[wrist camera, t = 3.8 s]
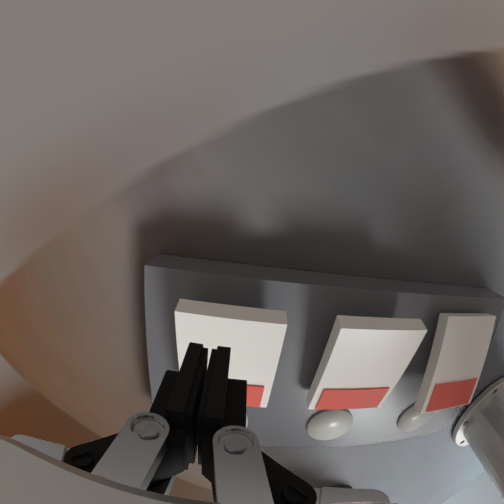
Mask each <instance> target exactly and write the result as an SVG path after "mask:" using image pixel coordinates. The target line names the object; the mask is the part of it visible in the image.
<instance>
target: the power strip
mask: <svg viewBox="0 0 504 504" xmlns="http://www.w3.org/2000/svg"><path fill="white" fill-rule="evenodd" d="M144 290H145V322H146V341H147V355H148V367H149V377H150V387H151V396H152V404H153V402H154V399H155V397H156V394H157V392H158V389H159V387H160V384H161V382H162V379H163V377H164V375H165V372H166V371H167V370H172V371H178V372H179V363H178V352H177V340H176V327H175V309H176V306H177V304H178V302H179V299H180V298H181V299H188V300H195V301H202V302H210V303H218V304H226V305H234V306H243V307H252V308H261V309H271V310H281V311H286V314H287V328H286V333H285V337H284V341H283V345H282V349H281V354H280V358H279V362H278V366H277V370H276V373H275V377H274V381H273V385H272V389H271V393H270V396H269V400H268V404H267V407H266V408H264V407H250V406H246V428H248V429H249V430H251V431H253V433H254V434H255V435H256V436H257V438H258V440H259V444H260V446H261V447H285V448H314V447H338V446H351V445H362V444H371V443H379V442H387V441H393V440H399V439H405V438H411V437H416V436H421V435H425V434H430V433H434V432H439V431H443V430H444V429H445V427H446V426H447V424H448V423H449V421H450V420H451V418H452V417H453V415H454V413H455V412H456V410H457V408H458V407H459V406H458V407H454V408H449V409H445V410H440V411H435V412H429V413H424V414H420V413H419V412H418V411H417V410H416V409H415V408H414V405H415V402H416V399H417V396H418V393H419V390H420V387H421V384H422V381H423V378H424V374H425V371H426V368H427V364H428V361H429V357H430V353H431V349H432V345H433V341H434V337H435V333H436V328H437V324H438V319H439V314H440V313H488V314H491V315H494V316H496V319H495V324H494V328H493V333H492V337H491V340H492V338H493V335H494V333H495V330H496V327H497V325H498V322H499V319H500V317H501V314H502V311H503V308H504V297H503V296H501V295H499V294H497V293H496V292H494V291H492V290H491V289H489V288H482V287H470V286H458V285H447V284H436V283H425V282H414V281H403V280H393V279H382V278H372V277H362V276H352V275H342V274H333V273H323V272H314V271H304V270H295V269H286V268H277V267H267V266H258V265H250V264H241V263H232V262H223V261H215V260H206V259H198V258H189V257H181V256H173V255H165V254H158V255H157V256H155V257H154V258H153V259H152V260H150V261H149V262H148V263H146V264H145V265H144ZM337 315H344V316H361V317H382V318H410V319H421V320H422V322H423V324H424V325H425V327H426V329H427V332H426V334H425V336H424V338H423V340H422V342H421V344H420V345H419V347H418V349H417V351H416V353H415V354H414V356H413V358H412V359H411V361H410V363H409V365H408V366H407V368H406V369H405V371H404V373H403V374H402V376H401V378H400V379H399V381H398V382H397V384H396V385H395V387H394V388H393V390H392V391H391V393H390V394H389V396H388V397H387V399H386V400H385V402H384V403H383V405H382V406H381V407H376V408H361V409H334V410H315V409H308V408H307V398H306V397H307V394H308V392H309V389H310V387H311V384H312V382H313V379H314V377H315V374H316V372H317V369H318V367H319V364H320V361H321V359H322V356H323V353H324V351H325V348H326V345H327V342H328V340H329V337H330V334H331V331H332V328H333V325H334V322H335V319H336V316H337ZM490 343H491V341H490ZM489 345H490V344H489ZM477 389H478V385H477V387H476V389H475V392H476V391H477Z"/></svg>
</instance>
